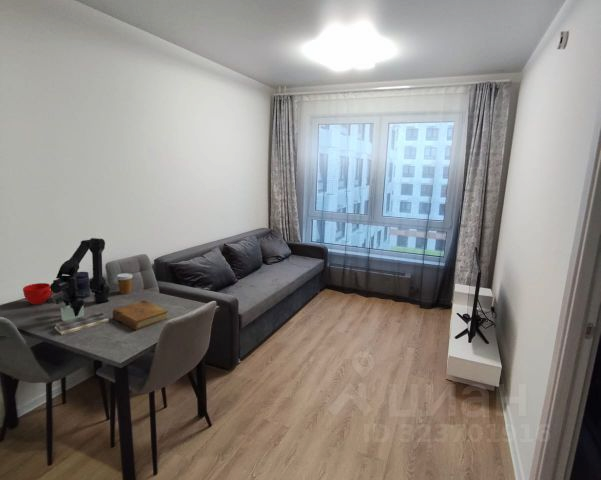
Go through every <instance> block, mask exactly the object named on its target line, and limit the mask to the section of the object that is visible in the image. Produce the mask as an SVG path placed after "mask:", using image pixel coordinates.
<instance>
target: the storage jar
mask: <svg viewBox="0 0 601 480" xmlns="http://www.w3.org/2000/svg"><path fill="white" fill-rule="evenodd" d="M76 274H77V275H79V276H78V277H76V285H77V288H78V290H77V295H79V298H80V299H82V300H84V299H87V298H90V297H91V289H90V287H89V281H90V276H89V272H88V271H78V272H77V273H76ZM76 299H78V298H76Z"/></svg>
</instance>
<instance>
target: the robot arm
mask: <svg viewBox="0 0 601 480" xmlns="http://www.w3.org/2000/svg"><path fill="white" fill-rule="evenodd" d="M105 246H106V241H105V239H103V238H99V237H98V238H96V237H91V238H90V239H85V240H81V241H80V243H79V246H78V247H77V248H76V250H75V251H74V253H72V256H71V257H70V258H69V259H68V260H66V261H64V262H63V263H62V264H61V265H60V267H59V269H58V272H57V275H56V277H55V278H56V279H54V280H52V282H51V284H50V290H51V291H52V292H53V294H56V295H52V296H51V299H52V301H53V303H55V304H56V305H59V304H61V303H62V302H63V303H64V305H65V306H69V305H70V306H69V307H71V308H73V312H74V315H75V317H76V316H78V314H79V312H80V309H81V308H82V306H84V305H85V300H84V299H80V298H79V295H77V290H78V288H77V285H76V277H78V276H79V275H77V274H76V273H77V272H79V269H80V263H81V262H82V260H83V259H84V257H85V255H86V254H87V253H88V251H90V253H91V254H92V255H91V258H92V278H91V279H89V287H90V293H92V294H93V302H94V303H96V304H97V305H100V304H103V303H104V304H105V303H109V302H110V300H109V298H108V297H109V296H108V293H109V292H110V290H111V287H110V286H109V285H107V281H106V278H104V276H103V252H104V250H105V248H106V247H105ZM76 298H78V299H76Z"/></svg>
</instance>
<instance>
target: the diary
mask: <svg viewBox="0 0 601 480" xmlns="http://www.w3.org/2000/svg"><path fill="white" fill-rule="evenodd" d="M167 313H168V310H167V309H165V308H162V307H160V306H158V305H156V304H153V303H151V302H148V301H146V300H140V301H137V302H135V303H134V302H133V303H132V304H128V305H124V306H121V307H120V306H119V307H118V308H114V309H113V310H112V319H113V320H116V321H118V322H120V323H121V324H123V325H125V326H127V327H128V328H130V329H133V330H134V331H139V330H142V329H145V328H147V327H151V326H153V325H156V324H159V323H161V322H164V320H165V321H167V320H169V318H167Z"/></svg>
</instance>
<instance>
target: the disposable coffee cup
mask: <svg viewBox="0 0 601 480" xmlns="http://www.w3.org/2000/svg"><path fill="white" fill-rule="evenodd" d="M133 277H134V276H133V274H132V273H130V272H123V273H119V274H117V275H116V280H117V283H118V288H119V289H118V290H119V293H120V294H122V295H124V294H130V293H131V291H132V282H133V281H132V280H133Z"/></svg>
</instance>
